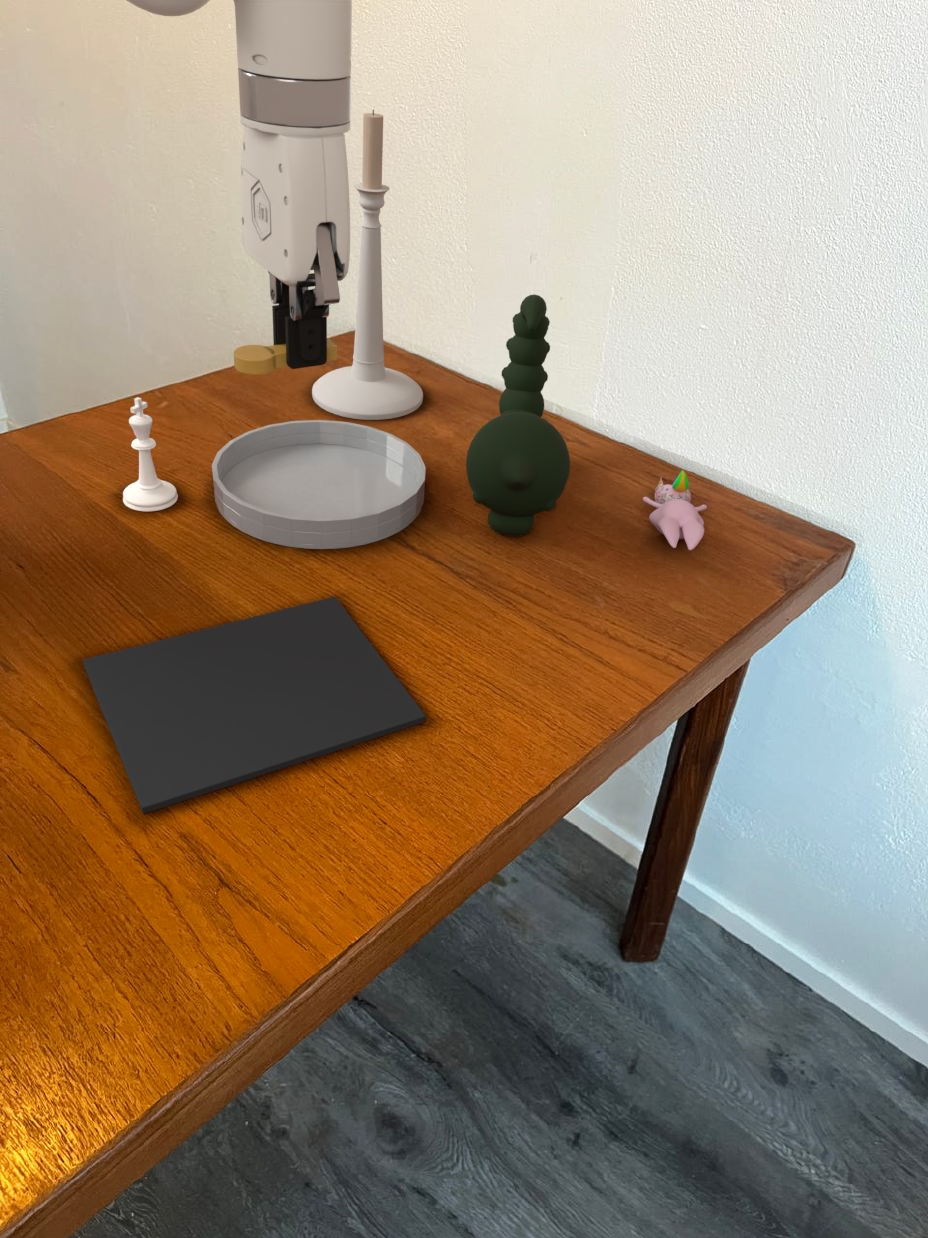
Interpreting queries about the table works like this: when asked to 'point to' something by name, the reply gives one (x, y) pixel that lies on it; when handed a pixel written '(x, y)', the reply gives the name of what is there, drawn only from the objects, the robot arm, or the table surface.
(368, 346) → the candlestick
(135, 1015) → the table surface
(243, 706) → the felt mat
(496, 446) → the toy figurine
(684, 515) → the pink stuffed animal
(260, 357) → the brass key
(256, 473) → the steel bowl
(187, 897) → the table surface
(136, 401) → the chess piece
